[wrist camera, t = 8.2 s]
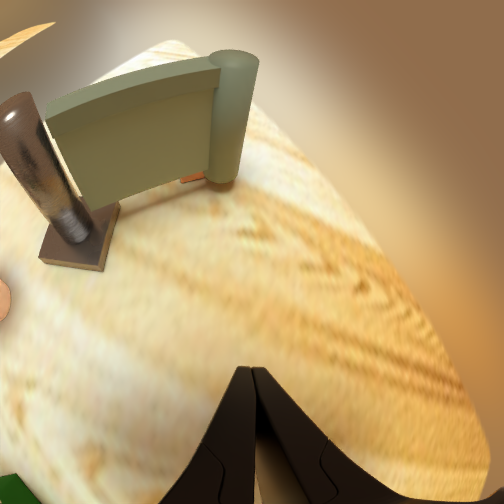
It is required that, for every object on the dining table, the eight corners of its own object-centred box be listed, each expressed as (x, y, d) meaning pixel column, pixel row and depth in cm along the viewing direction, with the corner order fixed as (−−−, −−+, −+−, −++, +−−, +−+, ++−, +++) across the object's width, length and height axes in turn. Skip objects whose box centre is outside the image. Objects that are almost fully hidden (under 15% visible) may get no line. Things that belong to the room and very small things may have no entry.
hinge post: (44, 263, 19) (-50, 159, 7) (65, 203, 21) (5, 86, 9) (102, 271, 19) (14, 147, 7) (120, 206, 22) (75, 68, 10)
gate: (98, 229, 19) (44, 125, 10) (92, 200, 20) (47, 97, 10) (244, 177, 23) (268, 67, 14) (229, 153, 24) (245, 48, 14)
